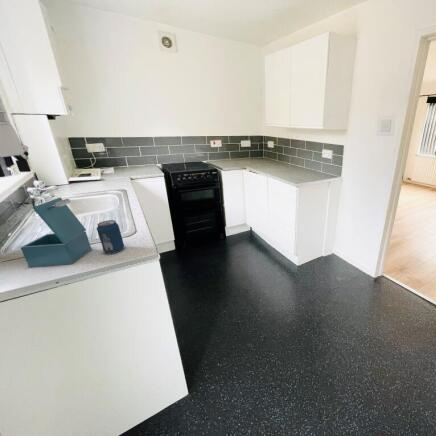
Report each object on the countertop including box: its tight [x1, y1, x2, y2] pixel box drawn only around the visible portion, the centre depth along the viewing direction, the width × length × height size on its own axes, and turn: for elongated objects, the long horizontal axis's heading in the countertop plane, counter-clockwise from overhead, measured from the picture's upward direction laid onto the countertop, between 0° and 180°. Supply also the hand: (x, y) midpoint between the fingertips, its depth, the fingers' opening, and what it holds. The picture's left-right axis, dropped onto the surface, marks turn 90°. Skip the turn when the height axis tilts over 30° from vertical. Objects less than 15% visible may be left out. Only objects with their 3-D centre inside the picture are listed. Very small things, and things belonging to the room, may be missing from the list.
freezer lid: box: [31, 197, 87, 244], centre depth 89 cm, size 15×12×6 cm
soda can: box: [96, 219, 125, 255], centre depth 96 cm, size 7×7×12 cm
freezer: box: [20, 231, 92, 268], centre depth 92 cm, size 14×12×8 cm
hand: (12, 174), depth 82 cm, fingers open, 9 cm apart
